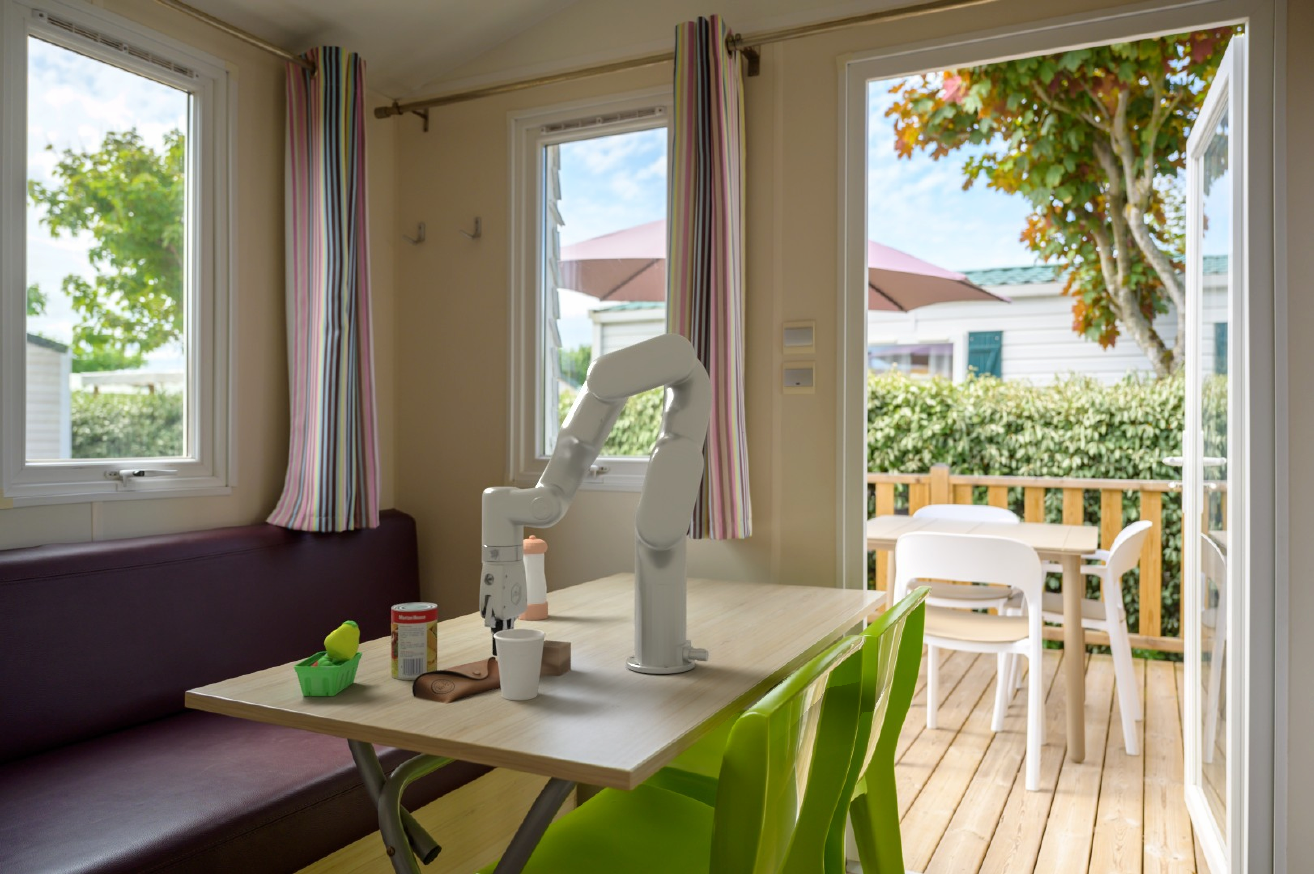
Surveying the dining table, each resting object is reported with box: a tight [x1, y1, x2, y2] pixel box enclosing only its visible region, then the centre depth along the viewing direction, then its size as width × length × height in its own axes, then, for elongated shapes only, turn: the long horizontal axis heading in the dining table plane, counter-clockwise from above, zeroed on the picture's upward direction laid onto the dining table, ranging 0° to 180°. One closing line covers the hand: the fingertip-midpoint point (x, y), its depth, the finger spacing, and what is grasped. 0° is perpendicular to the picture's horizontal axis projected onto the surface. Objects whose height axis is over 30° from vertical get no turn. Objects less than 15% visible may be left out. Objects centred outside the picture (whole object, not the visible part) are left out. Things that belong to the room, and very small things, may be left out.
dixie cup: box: [494, 628, 547, 701], centre depth 149 cm, size 8×8×10 cm
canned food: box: [390, 602, 438, 681], centre depth 163 cm, size 8×8×12 cm
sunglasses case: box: [411, 656, 501, 705], centre depth 154 cm, size 18×7×7 cm
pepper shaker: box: [517, 535, 549, 621], centre depth 217 cm, size 7×7×19 cm
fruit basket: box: [293, 620, 363, 697], centre depth 153 cm, size 11×9×11 cm
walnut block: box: [540, 639, 572, 677], centre depth 165 cm, size 5×5×5 cm
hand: (502, 654), depth 169 cm, fingers closed
